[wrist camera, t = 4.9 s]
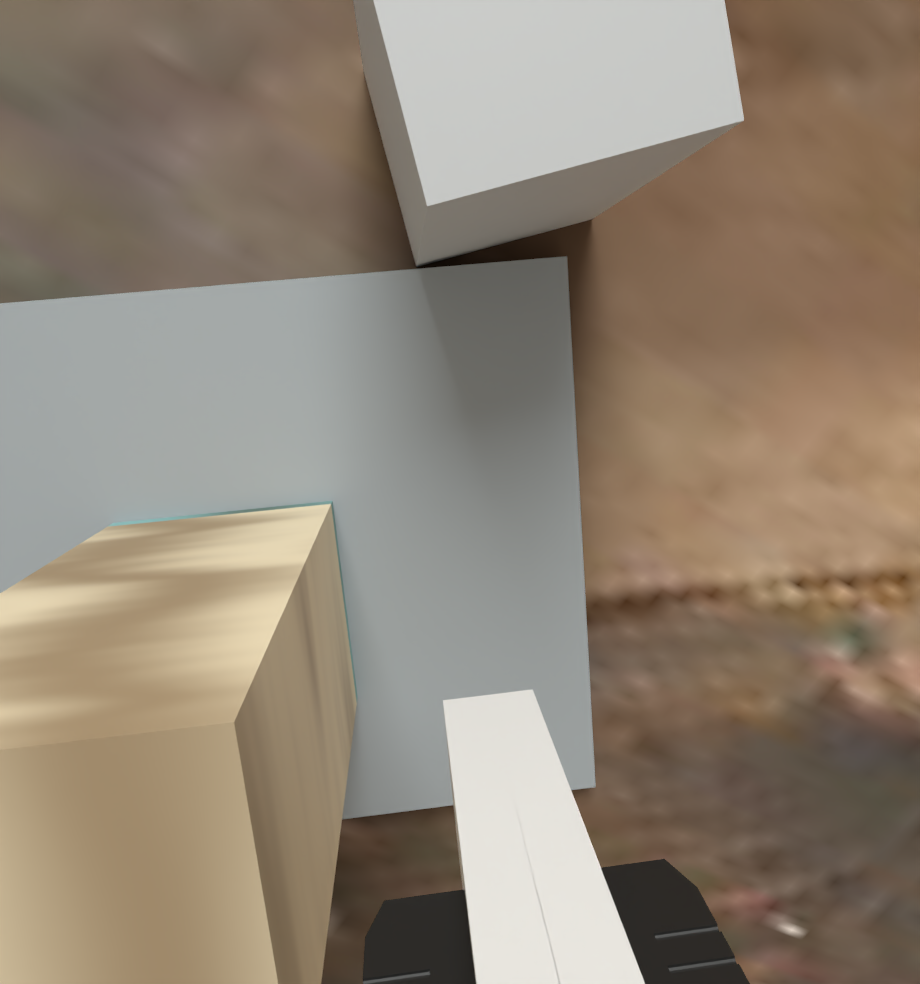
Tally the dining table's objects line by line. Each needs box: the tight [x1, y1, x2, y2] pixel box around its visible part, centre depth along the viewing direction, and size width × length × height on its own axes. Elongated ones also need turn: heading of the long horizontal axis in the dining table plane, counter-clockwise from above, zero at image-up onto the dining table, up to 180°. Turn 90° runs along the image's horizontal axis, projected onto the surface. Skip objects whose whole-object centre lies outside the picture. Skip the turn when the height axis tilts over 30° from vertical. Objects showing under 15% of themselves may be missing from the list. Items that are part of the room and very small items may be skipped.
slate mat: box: [0, 256, 596, 819], centre depth 20 cm, size 24×16×1 cm, turn 95°
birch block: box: [0, 501, 358, 984], centre depth 15 cm, size 6×6×12 cm
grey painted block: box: [353, 0, 744, 267], centre depth 15 cm, size 5×5×9 cm
